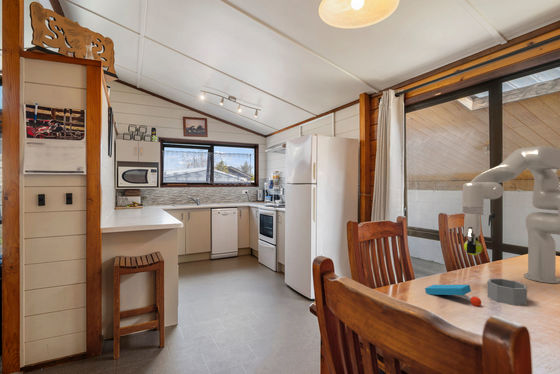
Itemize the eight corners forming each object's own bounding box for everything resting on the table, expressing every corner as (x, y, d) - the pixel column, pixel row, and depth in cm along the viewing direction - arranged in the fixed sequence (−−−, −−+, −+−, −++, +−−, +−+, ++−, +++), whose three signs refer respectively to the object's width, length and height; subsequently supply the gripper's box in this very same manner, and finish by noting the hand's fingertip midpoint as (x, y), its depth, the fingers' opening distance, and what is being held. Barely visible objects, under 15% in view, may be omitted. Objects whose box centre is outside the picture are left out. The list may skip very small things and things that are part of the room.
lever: (429, 306, 115) (478, 308, 101) (424, 288, 117) (472, 288, 103) (437, 302, 119) (485, 304, 105) (433, 284, 121) (480, 284, 107)
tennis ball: (476, 257, 120) (476, 241, 120) (460, 254, 126) (460, 239, 126) (485, 255, 123) (485, 240, 123) (469, 252, 129) (469, 237, 129)
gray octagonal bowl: (490, 291, 119) (490, 276, 119) (527, 298, 111) (527, 283, 111) (486, 299, 110) (486, 283, 110) (526, 307, 102) (526, 291, 102)
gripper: (467, 209, 133) (467, 247, 133) (458, 211, 120) (458, 253, 120) (486, 210, 128) (486, 249, 128) (479, 212, 115) (479, 256, 115)
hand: (473, 251), depth 124 cm, fingers closed on tennis ball, 6 cm apart
